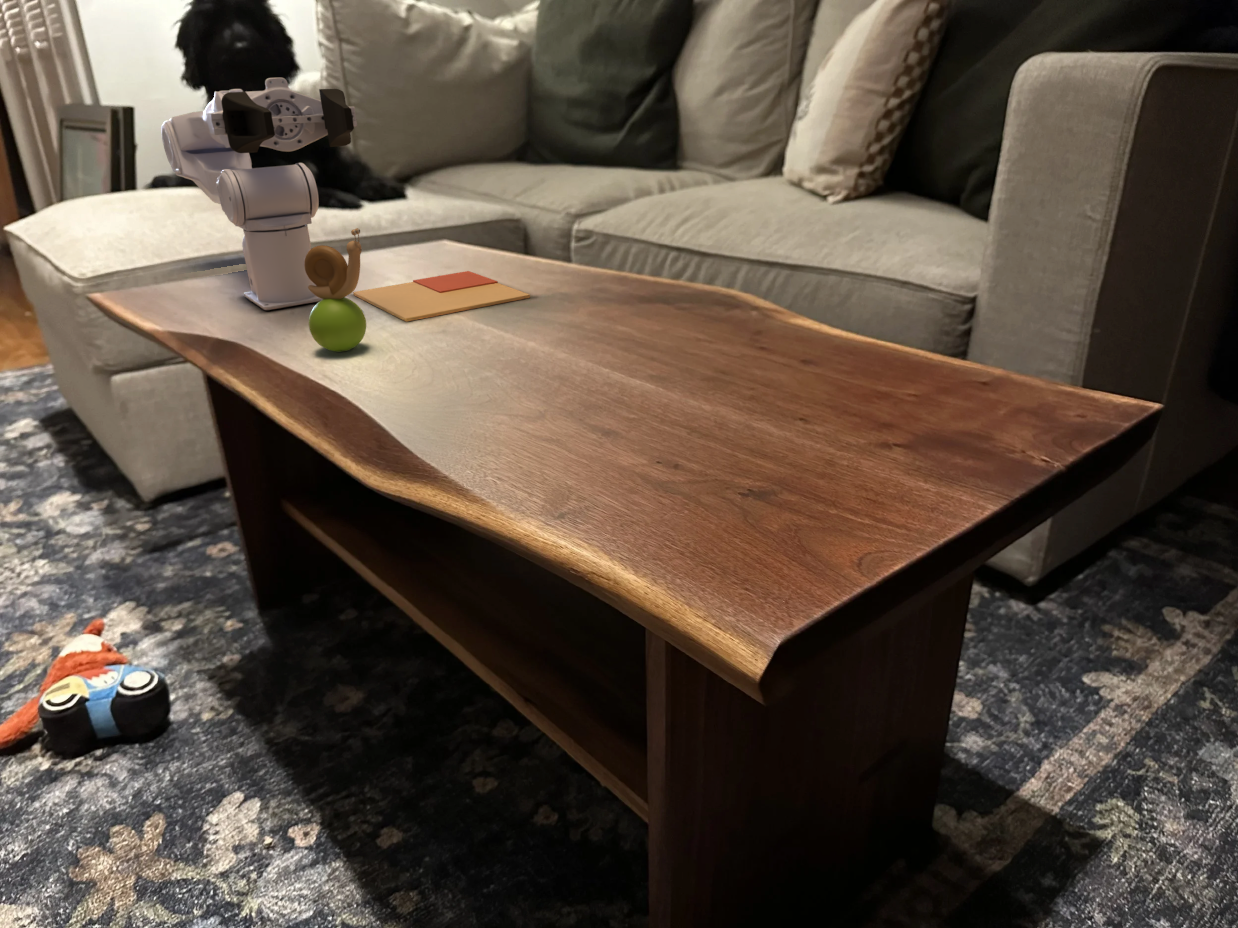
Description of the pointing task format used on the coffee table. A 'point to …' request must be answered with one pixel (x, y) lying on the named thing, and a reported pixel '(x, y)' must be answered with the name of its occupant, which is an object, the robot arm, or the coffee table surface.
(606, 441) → the coffee table surface
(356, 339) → the snail figurine
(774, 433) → the coffee table surface
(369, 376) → the coffee table surface
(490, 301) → the corner mat
